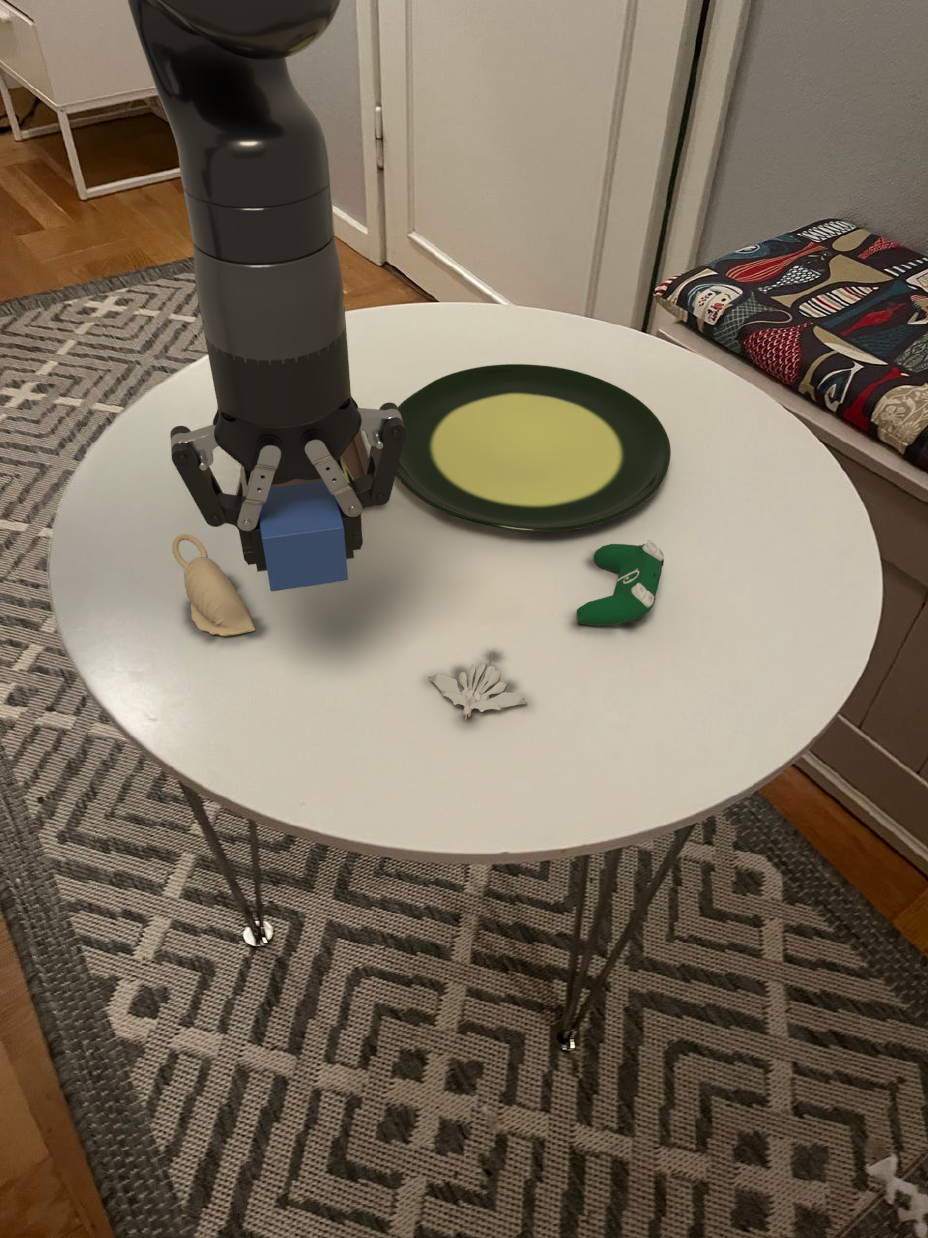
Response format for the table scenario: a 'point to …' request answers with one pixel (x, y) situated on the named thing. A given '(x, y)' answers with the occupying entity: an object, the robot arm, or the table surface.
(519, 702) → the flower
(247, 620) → the decorative ornament
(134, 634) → the table surface
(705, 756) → the table surface
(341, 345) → the robot arm
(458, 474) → the plate
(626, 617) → the green christmas stocking
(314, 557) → the cube
